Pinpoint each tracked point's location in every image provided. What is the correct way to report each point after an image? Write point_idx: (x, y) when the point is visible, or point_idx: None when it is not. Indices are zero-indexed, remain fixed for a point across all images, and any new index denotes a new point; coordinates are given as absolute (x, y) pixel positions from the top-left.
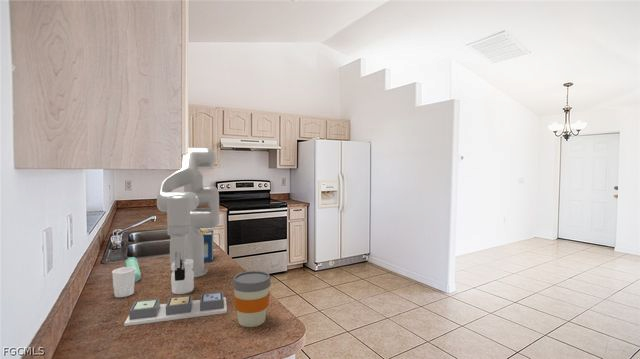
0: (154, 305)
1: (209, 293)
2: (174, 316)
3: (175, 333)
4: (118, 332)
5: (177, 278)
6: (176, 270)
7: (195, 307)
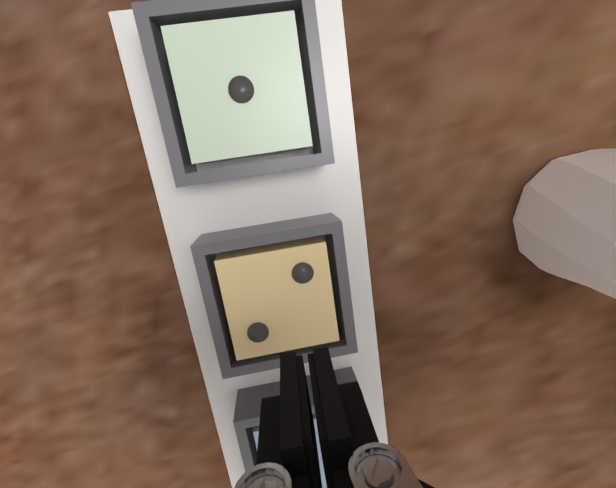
0: (237, 157)
1: None
2: (182, 284)
3: (35, 326)
4: (38, 14)
5: (262, 400)
6: (282, 464)
7: None
